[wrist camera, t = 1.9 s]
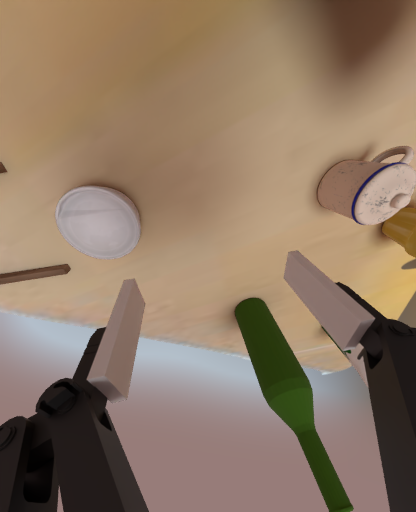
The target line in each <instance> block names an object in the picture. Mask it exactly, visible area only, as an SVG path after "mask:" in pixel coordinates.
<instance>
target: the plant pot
mask: <svg viewBox="0 0 416 512" xmlns="http://www.w3.org/2000/svg"><path fill="white" fill-rule="evenodd" d="M382 232H383V233H384V234H385V235H386V236H388V237H389V238H391V239H392V240H394V241H395V242H397V243H398V244H400V245H401V246H402V247H404V248H405V251H406V252H407V253H408V254H409V255H411V256H413V257H415V258H416V208H409V207H404V208H401V209H400V210H399V211H398V212H397V213H396V214H394V215H393V216H392V217H390V218H389V219H387V220H385V222H384V223H383V226H382Z"/></svg>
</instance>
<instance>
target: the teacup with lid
mask: <svg viewBox="0 0 416 512" xmlns="http://www.w3.org/2000/svg"><path fill="white" fill-rule="evenodd" d="M397 154H405V156H404V157H403V158H402V159H401V160H400V161H399V162H397V163H391V164H390V163H380V162H381V161H382V160H384V159H386V158H388V157H390V156H393V155H397ZM413 156H414V151H413V149H412V148H411V147H409V146H399V147H395V148H391V149H389V150H386V151H384V152H382V153H381V154H379V155H378V156H376V157H375V158H374V159H373V160H372V161H371V162H367V161H356V160H346V161H343V162H340V163H338V164H336V165H335V166H333V167H332V168H331V169H330V170H329V171H328V172H327V173H326V174H325V176H324V177H323V179H322V180H321V182H320V185H319V188H318V200H319V202H320V204H321V205H322V206H323V207H325V208H327V209H330V210H332V211H334V212H337V213H339V214H342V215H344V216H346V217H349V218H351V219H353V220H355V221H356V222H357V223H359V224H362V225H374V224H378V223H381V222H383V221H385V220H387V219H389V218H390V217H392V216H393V215H394V214H396V213H397V212H398V211H399V210H400V209H401V208H404V207H405V206H407V205H408V203H409V202H410V200H411V195H412V193H413V191H414V188H415V185H416V173H415V170H414V169H413V168H412V167H411V166H410V165H408V164H409V162H410V161H411V160H412V158H413Z"/></svg>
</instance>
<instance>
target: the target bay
mask: <svg viewBox="0 0 416 512" xmlns="http://www.w3.org/2000/svg"><path fill="white" fill-rule="evenodd" d="M4 172H7V170H6V169H5V167H4V166H3V164H2V163H1V162H0V173H4ZM69 271H70V267H69V265H68V264H65V265H58V266H52V267H46V268H39V269H33V270H26V271H20V272H13V273H7V274H0V284H6V283H12V282H19V281H25V280H31V279H38V278H44V277H50V276H56V275H63V274H67V273H68V272H69Z"/></svg>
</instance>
